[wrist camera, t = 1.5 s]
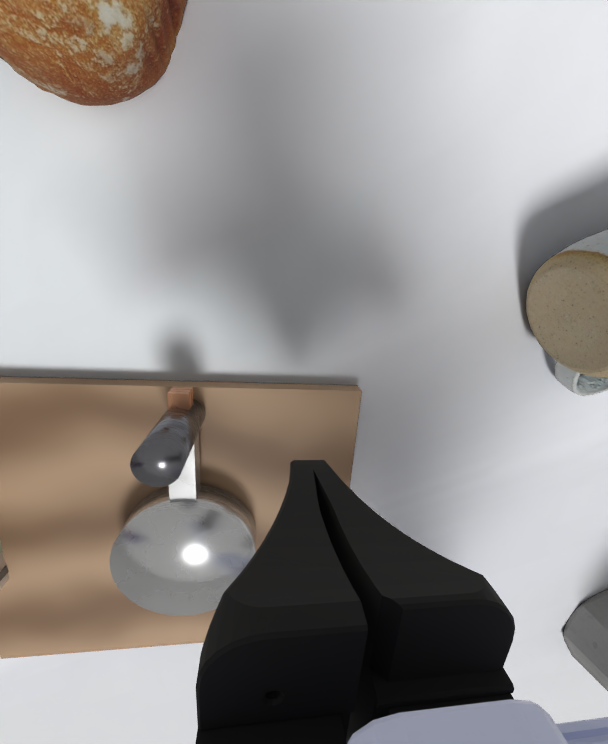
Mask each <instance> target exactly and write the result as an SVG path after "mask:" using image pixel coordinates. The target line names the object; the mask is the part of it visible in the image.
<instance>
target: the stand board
mask: <svg viewBox="0 0 608 744" xmlns="http://www.w3.org/2000/svg"><path fill="white" fill-rule="evenodd" d="M173 386H174V387H193V399H195V400H197V401H198V402H199V403H200V404H201V405H202V406H203V408H204V410H205V420H204V422H203V424H202V427H201V429H200V431H199V452H200V481H201V484H207V485H211V486H215V487H218V488H220V489H223V490H225V491H227V492H229V493H231V494H232V495H234V496H235V497H237V498H238V499H239V500H240V501H241V502H242V503H243V504H244V505H245V506H246V507H247V508H248V510H249V512H250V513H251V515H252V517H253V520H254V523H255V527H256V546H255V553H256V551H257V550H258V548H259V547H260V545H261V544H262V542H263V541H264V539H265V537H266V535H267V534H268V532H269V530H270V528H271V527H272V525H273V523H274V521H275V519H276V516H277V514H278V512H279V510H280V507H281V505H282V502H283V500H284V497H285V494H286V491H287V487H288V484H289V476H290V463H291V462H292V461H293V460H325V461H326V462H327V463H328V465H329V466H330V467H331V468H332V469H333V470H334V472H335V473H336V474H337V475H338V476H339V477H340V478H341V480H342V481H343V482H344V483H345V484H346V485H347V486H348V487H349V488H350V480H351V472H352V464H353V456H354V448H355V440H356V432H357V424H358V417H359V409H360V401H361V393H362V391H361V389H360V388H359V387H358V386H357V385H321V384H281V383H241V382H202V381H162V380H123V379H83V378H43V377H4V376H0V657H1V659H3V658H16V657H28V656H40V655H53V654H65V653H78V652H90V651H103V650H115V649H127V648H140V647H152V646H165V645H177V644H189V643H202V642H204V641H205V637H206V634H207V631H208V629H209V626H210V623H211V621H212V618H213V616H214V613H215V611H216V609H214V610H212V611H209V612H205V613H201V614H196V615H188V616H175V615H166V614H160V613H156V612H153V611H150V610H147V609H145V608H143V607H141V606H139V605H137V604H135V603H134V602H132V601H131V600H129V599H128V598H127V597H126V596H125V595H124V594H123V593H122V592H121V591H120V590H119V589H118V587H117V585H116V584H115V582H114V580H113V578H112V575H111V571H110V563H109V560H110V553H111V550H112V546H113V544H114V542H115V540H116V539H117V537H118V535H119V533H120V532H121V530H122V528H123V526H124V525H125V523H126V521H127V519H128V518H129V516H130V514H131V512H132V511H133V510H134V508H135V507H136V506H137V505H138V504H139V503H140V502H141V501H142V500H143V499H144V498H146V497H147V496H148V495H150V494H152V493H153V492H155V491H157V490H160V489H162V488H165V487H168V486H169V485H167V486H163V487H152V486H148V485H145V484H143V483H141V482H140V481H139V480H137V479H136V478H135V476H134V475H133V473H132V471H131V467H130V461H131V458H132V456H133V454H134V453H135V451H136V450H137V449H138V447H139V446H140V445H141V443H142V442H143V441H144V439H145V438H146V437H147V435H148V434H149V433H150V431H151V430H152V429H153V427H154V426H155V425H156V423H157V422H158V421H159V420H160V418H161V417H162V416H163V414H164V413H165V412H166V410H167V409H168V396H167V393H168V392H169V391H170V390H171V388H172V387H173Z"/></svg>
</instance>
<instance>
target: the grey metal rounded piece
mask: <svg viewBox="0 0 608 744" xmlns="http://www.w3.org/2000/svg"><path fill="white" fill-rule="evenodd" d="M167 396H168V409H167V410H166V412H165V413H164V414H163V416H162V417H161V418H160V420H159V421H158V422H157V423H156V425H155V426H154V427H153V429H152V430H151V431H150V433H149V434H148V435H147V437H146V438H145V439H144V441H143V442H142V443H141V445H140V446H139V447H138V449H137V450H136V451H135V453H134V454H133V456H132V458H131V461H130V467H131V471H132V473H133V475H134V476H135V478H136V479H137V480H139V481H140V482H141V483H143V484H145V485H148V486H152V487H163V486H167V485H169V486H168V487H165V488H162V489H160V490H157V491H155V492H153V493H152V494H150V495H148V496H147V497H146V498H144V499H143V500H142V501H141V502H140V503H139V504H138V505H137V506H136V507H135V508H134V510H133V511H132V512H131V514H130V516H129V518H128V519H127V521H126V523H125V525H124V526H123V528H122V530H121V532H120V533H119V535H118V537H117V539H116V540H115V542H114V544H113V546H112V550H111V553H110V560H109V563H110V571H111V575H112V578H113V580H114V582H115V584H116V585H117V587H118V589H119V590H120V591H121V592H122V593H123V594H124V595H125V596H126V597H127V598H128V599H129V600H131V601H132V602H134V603H135V604H137V605H139V606H141V607H143V608H145V609H147V610H150V611H153V612H156V613H160V614H166V615H175V616H188V615H196V614H201V613H205V612H209V611H212V610H214V609H217V606H218V604H219V602H220V599H221V597H222V595H223V593H224V592H225V590H226V589H227V588H228V587H229V586H230V585H231V583H232V582H233V581H234V580H235V579H236V578H237V576H238V575H239V574H240V573H241V572H242V571H243V569H244V568H245V567H246V565H247V564H248V563H249V561H250V560H251V558H252V557H253V556H254V554H255V546H256V527H255V523H254V520H253V517H252V515H251V513H250V512H249V510H248V508H247V507H246V506H245V505H244V504H243V503H242V502H241V501H240V500H239V499H238V498H237V497H235V496H234V495H232V494H231V493H229V492H227V491H225V490H223V489H220V488H218V487H215V486H211V485H207V484H201V481H200V452H199V431H200V429H201V427H202V424H203V422H204V420H205V410H204V408H203V406H202V405H201V404H200V403H199V402H198V401H197V400H195V399H193V387H174V386H173V387H172V388H171V390H170V391H169V392H168V393H167Z"/></svg>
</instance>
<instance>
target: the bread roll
mask: <svg viewBox="0 0 608 744" xmlns="http://www.w3.org/2000/svg"><path fill="white" fill-rule="evenodd" d="M186 1H187V0H0V58H2V59H3V60H4V61H6V62H7V63H8V64H9V65H10V66H11V67H12V68H13V69H14V71H15V72H17V73H18V74H19V75H21V76H23V77H24V78H26V79H27V80H29V81H31V82H32V83H34V84H35V85H36V86H37V87H39V88H40V89H42V90H44V91H47V92H50V93H53V94H55V95H57V96H59V97H61V98H63V99H66V100H68V101H71V102H74V103H77V104H80V105H88V106H97V105H113V104H116V103H119V102H123V101H126V100H130V99H132V98H134V97H135V96H137V95H139V94H141V93H142V92H144V91H145V90H147V89H148V88H150V87H152V86H153V85H155V83H156V82H157V81H158V80H159V78H160V77H161V76H162V75H163V74H164V73H165V72H166V69H167V66H168V64H169V62H170V58H171V53H172V52H173V50H174V48H175V43H176V36H177V35H178V32H179V30H180V27H181V22H182V18H183V13H184V8H185V5H186Z"/></svg>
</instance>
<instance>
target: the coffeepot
mask: <svg viewBox="0 0 608 744" xmlns="http://www.w3.org/2000/svg"><path fill="white" fill-rule="evenodd" d="M564 640H565V642H566V644H567V646H568V648H569V650H570V652H571V655H572V656H573V657H574V658H575V659H576V660H577V661H578V662H579V663H580V664H581V665H582V666H583V667H584V668H585V669H586V670H587V671H588V672H589V673H590V674H591V675H592V676H593V677H594V678H595V679H596V680H597V681H598V682H599V683H600V684H601V685H602V686H603V687H604V688H605V689H606V690H607V691H608V590H605V591H603V592H600V593H598V594H596V595H594V596H593V597H591V598H589V599H588V600H587V601H585V602H584V603H582V604H581V605H580V606H579V607H578V608H577V609H576V610H575V611H574V612H573V614H572V615H571V616H570V618H569V620H568V621H567V623H566V626H565V629H564Z"/></svg>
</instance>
